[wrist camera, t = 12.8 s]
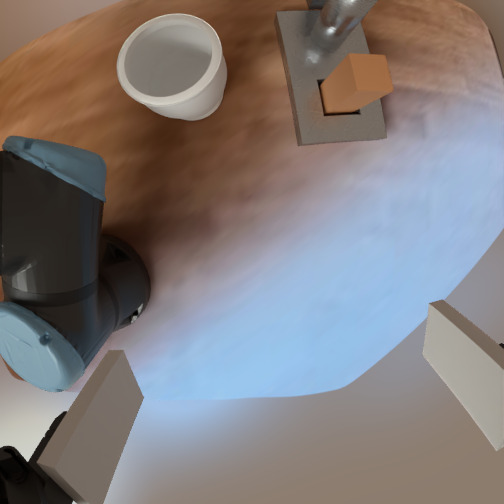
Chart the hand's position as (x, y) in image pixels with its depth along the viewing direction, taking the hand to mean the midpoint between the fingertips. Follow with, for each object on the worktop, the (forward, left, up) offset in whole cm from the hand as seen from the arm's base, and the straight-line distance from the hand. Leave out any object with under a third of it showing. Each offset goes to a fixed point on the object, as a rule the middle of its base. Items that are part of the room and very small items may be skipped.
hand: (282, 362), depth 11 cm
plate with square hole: (+13, +21, -32) cm, 40 cm away
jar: (-6, +20, -32) cm, 38 cm away
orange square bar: (+13, +16, -32) cm, 38 cm away
